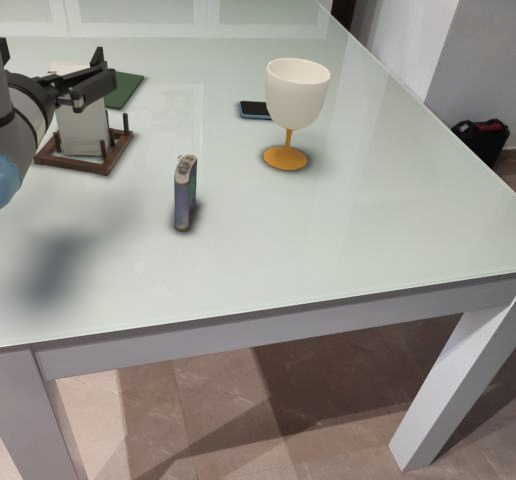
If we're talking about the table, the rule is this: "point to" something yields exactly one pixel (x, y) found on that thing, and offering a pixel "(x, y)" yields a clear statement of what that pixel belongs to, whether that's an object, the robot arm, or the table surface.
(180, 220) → the flask
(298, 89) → the cup
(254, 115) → the smartphone
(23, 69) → the table surface
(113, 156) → the rack
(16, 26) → the table surface
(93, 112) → the cosmetic box
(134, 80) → the mat
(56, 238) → the table surface
